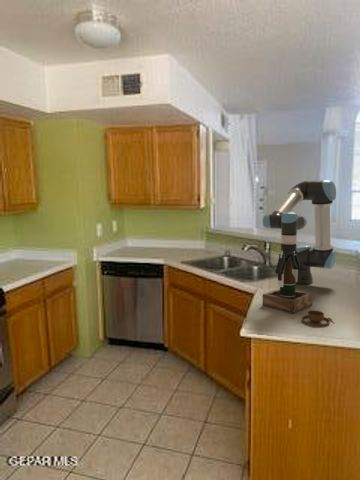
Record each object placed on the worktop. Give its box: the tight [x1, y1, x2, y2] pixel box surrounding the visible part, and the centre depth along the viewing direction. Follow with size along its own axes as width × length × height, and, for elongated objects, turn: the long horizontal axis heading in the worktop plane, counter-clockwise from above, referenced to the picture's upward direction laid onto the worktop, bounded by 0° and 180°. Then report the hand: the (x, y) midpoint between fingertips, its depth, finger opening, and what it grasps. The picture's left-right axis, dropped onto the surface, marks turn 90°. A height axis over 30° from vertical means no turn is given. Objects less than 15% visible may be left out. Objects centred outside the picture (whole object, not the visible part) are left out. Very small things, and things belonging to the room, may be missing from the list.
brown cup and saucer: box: [288, 302, 336, 328], centre depth 174 cm, size 18×20×6 cm
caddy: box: [262, 287, 313, 314], centre depth 195 cm, size 18×18×6 cm
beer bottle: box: [279, 258, 296, 300], centre depth 193 cm, size 8×8×24 cm
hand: (287, 284), depth 194 cm, fingers open, 13 cm apart
